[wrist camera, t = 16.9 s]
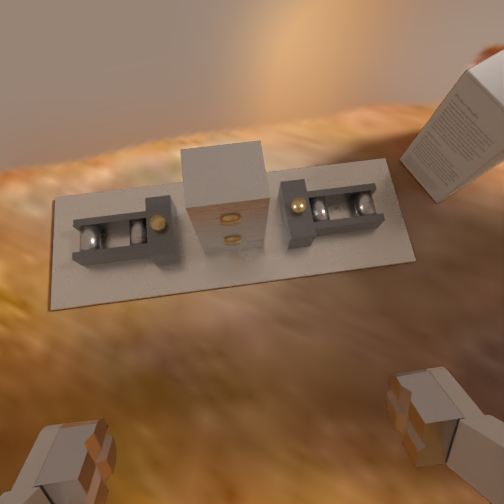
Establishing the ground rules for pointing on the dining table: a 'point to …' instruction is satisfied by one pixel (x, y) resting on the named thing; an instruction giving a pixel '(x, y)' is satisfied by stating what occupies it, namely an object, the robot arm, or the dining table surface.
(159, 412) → the dining table surface
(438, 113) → the small box
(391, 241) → the grey long flat board
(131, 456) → the dining table surface
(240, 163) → the mini drawer chest
